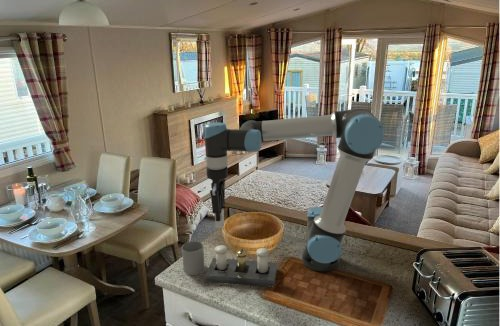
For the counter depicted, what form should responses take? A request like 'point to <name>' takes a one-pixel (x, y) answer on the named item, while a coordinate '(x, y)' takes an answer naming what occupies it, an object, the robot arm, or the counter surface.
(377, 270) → the counter surface
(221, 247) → the knob
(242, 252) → the brass slotted knob
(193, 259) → the cup
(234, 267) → the panel
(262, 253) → the knob
